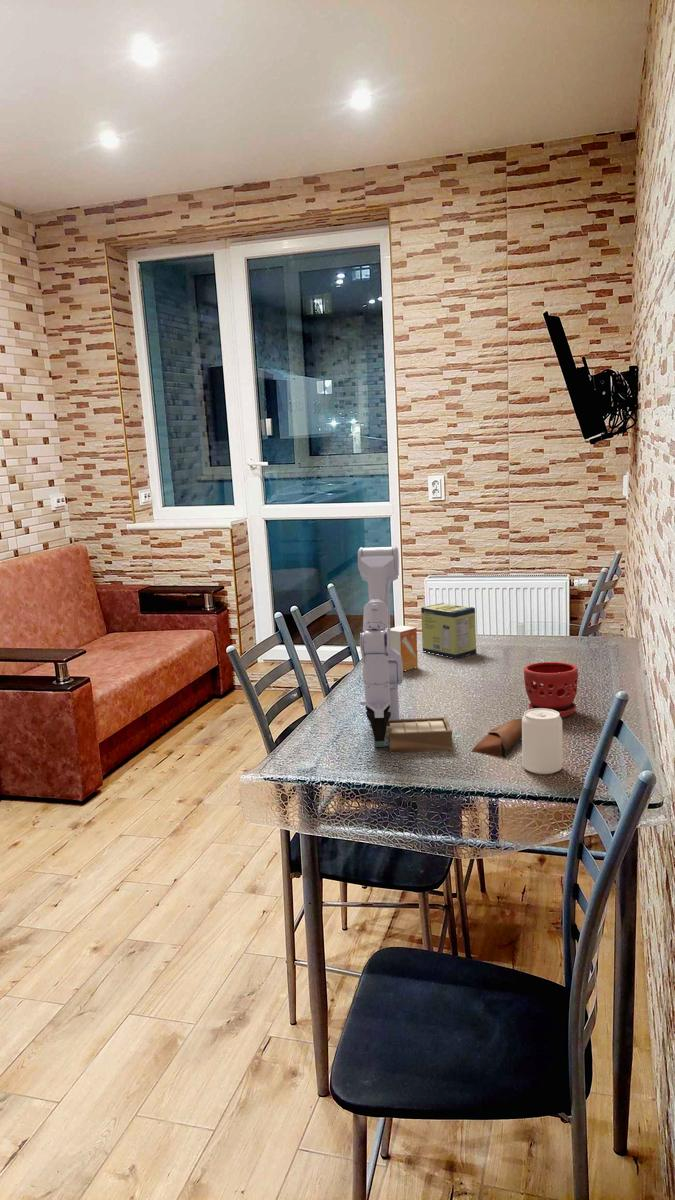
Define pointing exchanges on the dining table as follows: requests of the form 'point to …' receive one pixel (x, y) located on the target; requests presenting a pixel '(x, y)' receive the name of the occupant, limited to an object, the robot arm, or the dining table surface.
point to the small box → (405, 645)
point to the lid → (411, 728)
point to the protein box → (448, 630)
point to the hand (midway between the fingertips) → (379, 738)
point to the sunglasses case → (501, 739)
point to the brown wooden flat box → (420, 738)
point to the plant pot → (552, 686)
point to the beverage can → (542, 741)
